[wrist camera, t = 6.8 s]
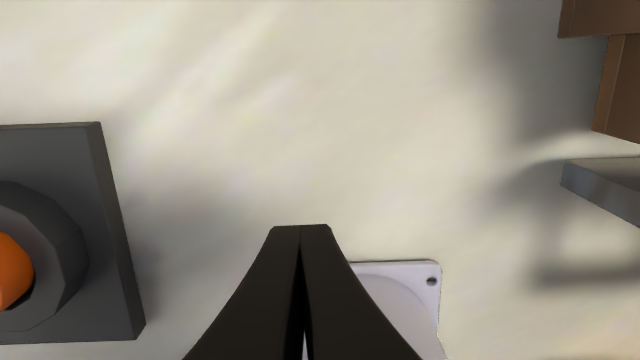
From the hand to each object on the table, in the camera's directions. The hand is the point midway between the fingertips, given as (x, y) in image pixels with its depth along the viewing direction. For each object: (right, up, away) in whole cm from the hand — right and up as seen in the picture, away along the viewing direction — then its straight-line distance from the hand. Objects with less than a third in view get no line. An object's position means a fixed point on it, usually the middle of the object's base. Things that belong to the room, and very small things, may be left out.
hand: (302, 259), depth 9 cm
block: (-14, -1, +9) cm, 17 cm away
